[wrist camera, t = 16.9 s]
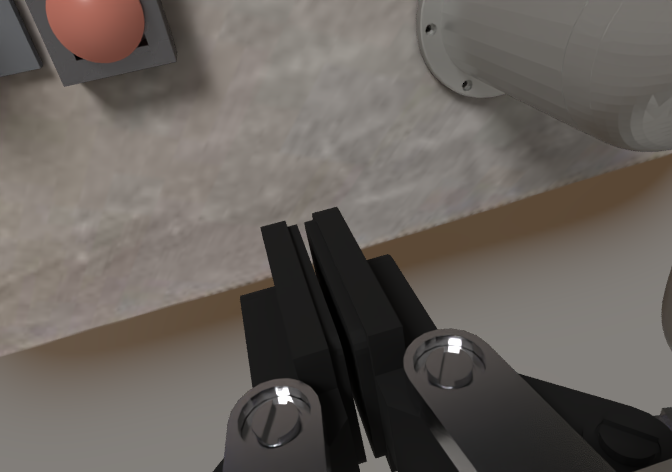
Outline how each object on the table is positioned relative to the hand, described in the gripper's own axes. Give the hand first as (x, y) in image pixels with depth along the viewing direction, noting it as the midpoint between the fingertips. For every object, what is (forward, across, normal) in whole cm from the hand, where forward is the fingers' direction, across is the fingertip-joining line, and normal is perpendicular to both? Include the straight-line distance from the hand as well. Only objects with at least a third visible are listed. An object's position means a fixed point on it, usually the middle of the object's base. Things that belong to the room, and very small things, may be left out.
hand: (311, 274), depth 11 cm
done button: (+28, +7, -4) cm, 29 cm away
